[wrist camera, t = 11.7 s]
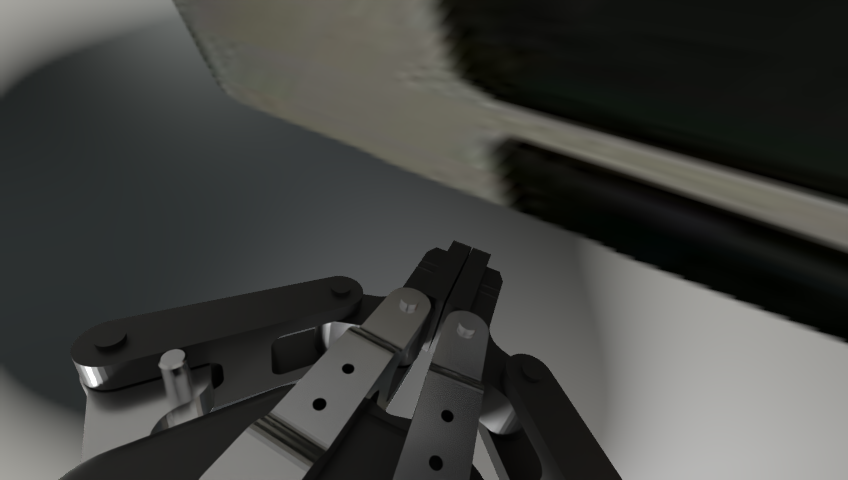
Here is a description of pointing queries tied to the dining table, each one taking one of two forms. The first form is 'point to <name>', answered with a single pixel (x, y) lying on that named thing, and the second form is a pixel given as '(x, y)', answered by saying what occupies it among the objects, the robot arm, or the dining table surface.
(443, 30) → the dining table surface
